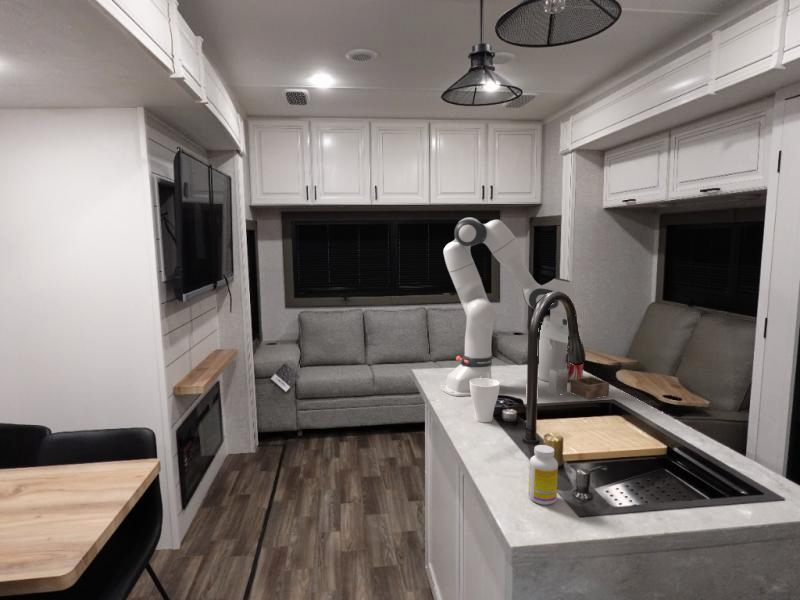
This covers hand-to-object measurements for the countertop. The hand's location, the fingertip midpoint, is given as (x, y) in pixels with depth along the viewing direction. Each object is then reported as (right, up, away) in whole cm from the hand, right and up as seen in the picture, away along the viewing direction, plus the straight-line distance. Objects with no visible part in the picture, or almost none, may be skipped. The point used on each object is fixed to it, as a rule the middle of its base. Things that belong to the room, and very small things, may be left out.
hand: (560, 351), depth 204 cm
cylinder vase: (+3, -15, +23) cm, 28 cm away
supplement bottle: (-31, -28, -81) cm, 91 cm away
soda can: (+13, -15, +21) cm, 29 cm away
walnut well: (+12, -17, +1) cm, 21 cm away
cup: (-36, -21, -28) cm, 50 cm away
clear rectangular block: (0, -17, +2) cm, 17 cm away
